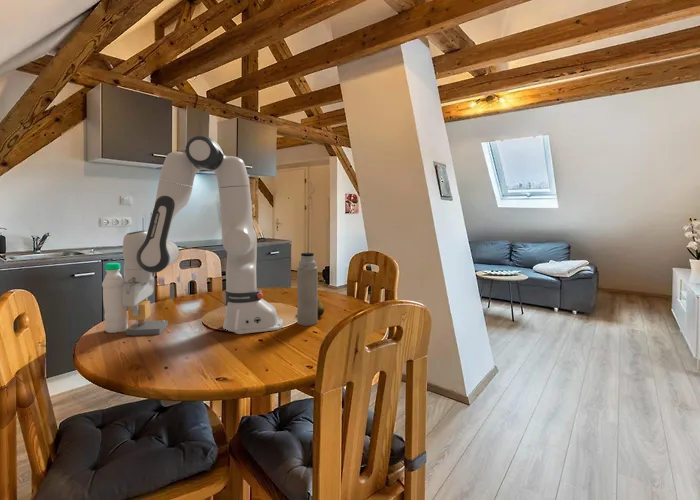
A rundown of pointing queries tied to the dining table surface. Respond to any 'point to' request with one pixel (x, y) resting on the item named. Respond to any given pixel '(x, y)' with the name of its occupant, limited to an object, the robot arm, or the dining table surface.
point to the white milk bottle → (114, 299)
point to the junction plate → (147, 327)
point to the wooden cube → (144, 311)
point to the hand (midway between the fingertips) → (139, 312)
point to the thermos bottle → (307, 290)
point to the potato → (320, 308)
